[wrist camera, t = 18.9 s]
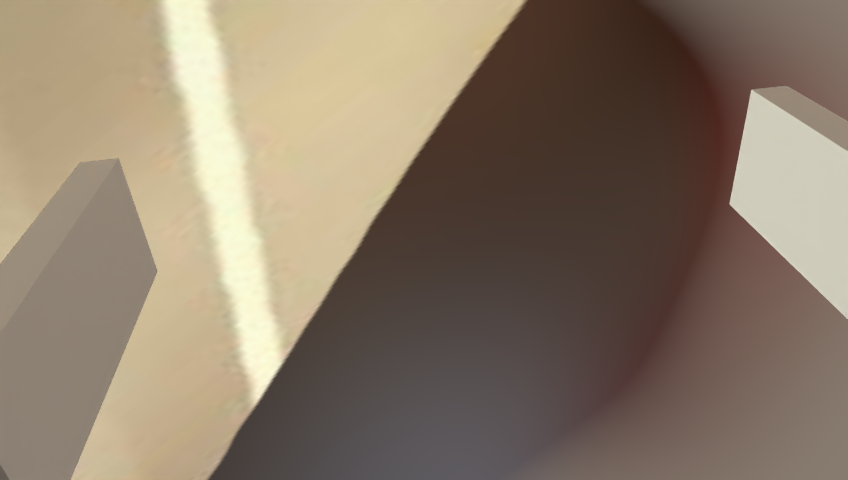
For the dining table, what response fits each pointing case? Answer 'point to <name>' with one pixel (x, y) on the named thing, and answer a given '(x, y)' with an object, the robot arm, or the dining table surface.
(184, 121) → the dining table surface
